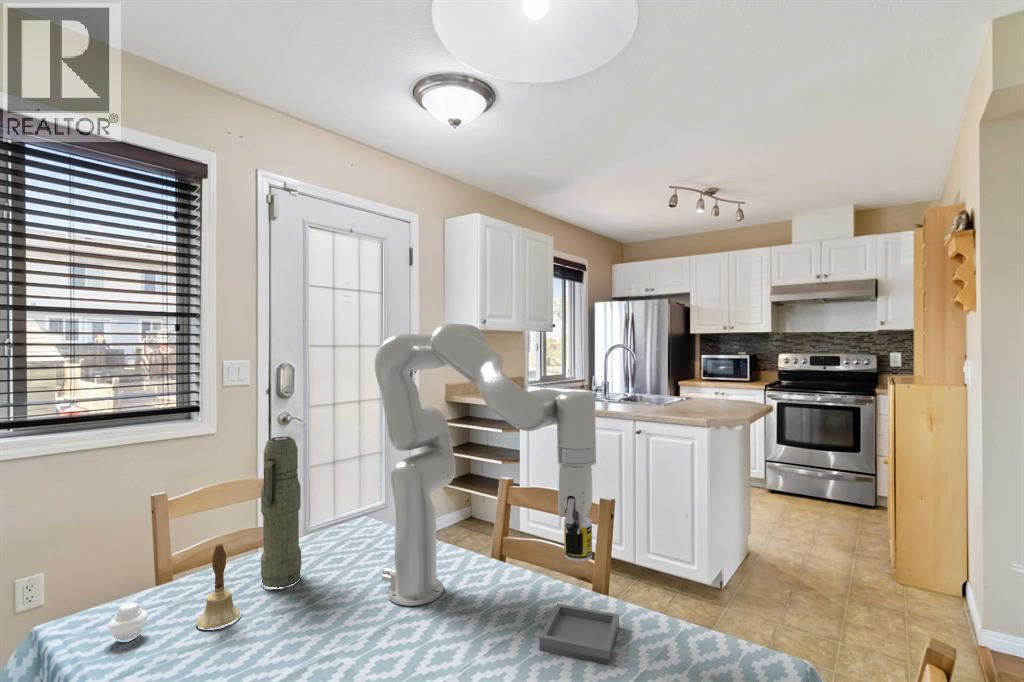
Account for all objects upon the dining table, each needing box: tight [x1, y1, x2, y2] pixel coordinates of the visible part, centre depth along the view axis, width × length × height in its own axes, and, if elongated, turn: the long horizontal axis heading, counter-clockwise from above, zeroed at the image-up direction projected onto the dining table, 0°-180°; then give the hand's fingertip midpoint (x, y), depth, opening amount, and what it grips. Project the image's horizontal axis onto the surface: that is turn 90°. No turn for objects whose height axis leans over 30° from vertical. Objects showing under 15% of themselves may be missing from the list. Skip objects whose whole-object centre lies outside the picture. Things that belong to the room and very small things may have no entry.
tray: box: [538, 603, 620, 666], centre depth 99 cm, size 13×13×2 cm
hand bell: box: [196, 543, 241, 629], centre depth 106 cm, size 8×8×16 cm
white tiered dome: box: [108, 602, 149, 641], centre depth 100 cm, size 6×6×7 cm
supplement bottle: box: [563, 510, 593, 563], centre depth 99 cm, size 5×5×10 cm
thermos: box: [260, 436, 302, 588], centre depth 124 cm, size 9×12×35 cm
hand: (578, 546), depth 99 cm, fingers closed on supplement bottle, 5 cm apart
